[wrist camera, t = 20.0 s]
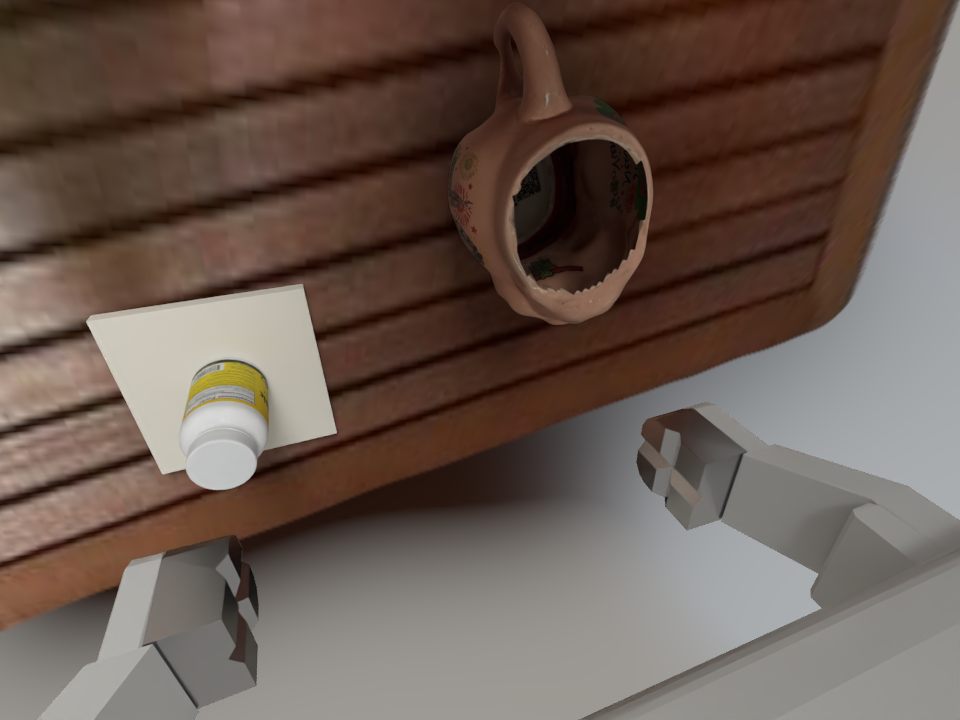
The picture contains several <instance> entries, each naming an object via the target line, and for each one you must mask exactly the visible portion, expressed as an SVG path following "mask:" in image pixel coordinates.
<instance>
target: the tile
mask: <svg viewBox="0 0 960 720" xmlns="http://www.w3.org/2000/svg"><path fill="white" fill-rule="evenodd" d="M86 322H87V324H88V326H89V328H90V330H91V332H92V334H93V336H94V338H95V340H96V342H97V344H98V346H99V348H100V350H101V352H102V354H103V356H104V358H105V360H106V362H107V364H108V366H109V368H110V370H111V372H112V374H113V376H114V378H115V380H116V382H117V384H118V386H119V388H120V390H121V392H122V394H123V396H124V398H125V400H126V402H127V404H128V406H129V408H130V410H131V412H132V414H133V416H134V418H135V420H136V422H137V424H138V426H139V428H140V430H141V432H142V434H143V436H144V438H145V440H146V442H147V444H148V446H149V448H150V450H151V452H152V454H153V456H154V458H155V460H156V462H157V464H158V466H159V468H160V471H161V473H162V474H167V473H171V472H175V471H179V470H184V469H186V459H187V458H186V457H185V455H184V454H183V452H182V450H181V448H180V445H179V433H180V428H181V424H182V420H183V416H184V411H185V407H186V403H187V398H188V394H189V389H190V385H191V382H192V379H193V377H194V375H195V373H196V372H197V370H198V369H199V368H200V367H201V366H203V365H204V364H206V363H207V362H209V361H212V360H214V359H218V358H223V357H235V358H241V359H244V360H247V361H249V362H251V363H253V364H255V365H256V366H258V367H259V368H260V369H261V370H262V372H263V373H264V375H265V377H266V379H267V382H268V405H269V434H268V441H267V445H266V447H265V449H264V450H268V449H272V448H276V447H281V446H285V445H289V444H293V443H298V442H302V441H306V440H310V439H314V438H319V437H323V436H327V435H331V434H336V433H337V430H336V425H335V421H334V416H333V412H332V408H331V403H330V399H329V395H328V390H327V386H326V382H325V377H324V373H323V369H322V364H321V360H320V356H319V351H318V347H317V343H316V338H315V334H314V330H313V325H312V321H311V317H310V312H309V308H308V304H307V299H306V295H305V291H304V286H303V284H297V285H290V286H284V287H277V288H270V289H264V290H257V291H250V292H244V293H237V294H230V295H224V296H217V297H211V298H204V299H197V300H191V301H184V302H177V303H171V304H164V305H157V306H151V307H144V308H137V309H131V310H124V311H117V312H111V313H104V314H97V315H91V316H90V317H89V318H88V320H87V321H86Z"/></svg>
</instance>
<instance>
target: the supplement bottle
mask: <svg viewBox="0 0 960 720" xmlns="http://www.w3.org/2000/svg"><path fill="white" fill-rule="evenodd" d="M268 434H269V405H268V382H267V379H266V377H265V375H264V373H263V372H262V370H261V369H260V368H259V367H258V366H256V365H255V364H253V363H251V362H249V361H247V360H244V359H241V358H235V357H223V358H218V359H214V360H212V361H209V362H207V363H206V364H204V365H203V366H201V367H200V368H199V369H198V370H197V372H196V373H195V375H194V377H193V379H192V382H191V385H190V389H189V394H188V398H187V403H186V407H185V411H184V416H183V420H182V424H181V428H180V433H179V445H180V448H181V450H182V452H183V454H184V455H185V457H186V458H187V459H186V471H187V474H188V476H189V477H190V479H191V480H192V481H193V482H194V483H196V484H197V485H199V486H201V487H204V488H207V489H212V490H225V489H231V488H234V487H237V486H239V485H241V484H243V483H245V482H246V481H247V480H248V479H250V477H251V476H252V475H253V474H254V472H255V470H256V467H257V458H258V457H259V456H260V455H261V453H262V452H263V451H264V449H265V447H266V445H267V441H268Z"/></svg>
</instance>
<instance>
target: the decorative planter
mask: <svg viewBox="0 0 960 720" xmlns="http://www.w3.org/2000/svg"><path fill="white" fill-rule="evenodd" d="M511 36H512V37H513V39H514V41H515V43H516V45H517V48H518V51H519V54H520V58H521V62H522V67H523V77H524V80H523V78H522V77H521V75H520V73H519V71H518V69H517V67H516V63H515V59H514V55H513V51H512V48H511V43H510V42H511ZM493 39H494V44H495V46H496V48H497V49H498V51H499V55H500V62H501V63H500V71H499V84H498V91H497V97H496V105H495V111H494V113H493V115H492V116H491V117H489V118H488V119H487V120H486V121H485V122H484V123H483V124H482V125H480V126H479V127H478V128H476V129H475V130H473V131H471V132H470V133H468V134H467V135H466V136H465V137H464V138H463V139H462V140H461V142H460V143H459V144H458V146H457V148H456V149H455V152H454V154H453V157H452V160H451V165H450V171H449V186H448V200H449V206H450V210H451V213H452V216H453V219H454V221H455V224H456V227H457V229H458V231H459V234H460V237H461V239H462V241H463V242H464V244H465V246H466V247H467V248H468V250H469V251H470V252H471V254H472V255H473V256H474V257H475V258H476V259H477V260H478V261H479V262H480V263H481V264H482V265H483V266H484V267H485V268H486V269H487V270H488V271H489V272H490V274H491V276H492V279H493V283H494V286H495V289H496V291H497V293H498V294H499V295H500V296H501V297H502V298H504V299H505V300H506V301H507V302H508V303H509V305H510V307H511V308H512V309H513V310H514V311H515V312H517V313H518V314H521V315H525V316H532V317H537V318H540V319H543V320H545V321H546V322H548V323H550V324H553V325H563V324H568V323H574V324H576V323H580V322H583V321H585V320H587V319H589V318H592V317H594V316H597V315H600V314H602V313H604V312H606V311H608V310H609V309H610V308H611V307H612V306H613V304H614V303H615V302H616V300H617V299H618V297H619V296H620V294H621V292H622V290H623V288H624V286H625V284H626V283H627V281H628V280H629V278H630V277H631V276H632V274H633V273H634V271H635V270H636V268H637V267H638V265H639V263H640V262H641V259H642V257H643V255H644V251H645V246H646V240H647V233H648V226H649V220H650V215H651V209H652V203H653V182H652V174H651V167H650V163H649V159H648V157H647V154H646V152H645V150H644V148H643V146H642V145H641V143H640V142H639V140H638V139H637V138H636V136H635V135H634V134H633V133H632V132H631V131H630V130H629V128H628V126H627V125H626V123H625V122H624V120H623V119H622V118H621V117H620V116H619V114H618V113H617V112H616V111H614V110H613V109H612V108H611V107H610V106H609V105H607V104H606V103H605V102H603V101H601V100H600V99H598V98H595V97H592V96H589V95H578V96H570V97H567V94H566V92H565V88H564V85H563V81H562V76H561V70H560V66H559V63H558V60H557V57H556V53H555V48H554V45H553V43H552V41H551V38H550V36H549V34H548V32H547V30H546V28H545V26H544V24H543V22H542V20H541V19H540V17H539V16H538V15H537V14H536V13H535V12H534V11H533V10H532V9H530V8H529V7H528V6H526V5H525V4H523V3H522V2H513V3H511V4H509V5H508V6H507V7H506V8H505V9H504V10H503V11H502V12H501V14H500V16H499V19H498V21H497V23H496V25H495V28H494V31H493Z"/></svg>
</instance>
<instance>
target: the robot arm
mask: <svg viewBox="0 0 960 720" xmlns="http://www.w3.org/2000/svg"><path fill="white" fill-rule="evenodd" d="M641 435H642V436H643V438H644V439H645V442H644V443H643V444H642V446H641V447H640V448H639V450H638V454H637V466H638V470H639V474H640V476H641V478H642V480H643V481H644V483H645V484H646V485H647V487H648V488H649V489H650V490H651V491H652V492H654V493H656V494H659V495H661V496H663V497H665V507H666V508H667V509H668V510H669V511H670V512H671V513H672V514H673V516H674V517H675V518H676V519H677V520H678V521H679V522H680V523H681V524H682V525H683V526H684V528H685V529H686V530H689V529H693V528H695V527H699V526H702V525H705V524H708V523H711V522H714V521H717V520H720V519H722V520H721V522H723V523H725V524H727V525H729V526H731V527H732V528H734V529H736V530H738V531H740V532H742V533H744V534H745V535H748V536H749V537H751V538H753V539H755V540H757V541H759V542H760V543H762V544H764V545H766V546H768V547H770V548H772V549H774V550H775V551H777V552H779V553H781V554H783V555H785V556H787V557H788V558H790V559H793V560H794V561H796V562H798V563H800V564H802V565H803V566H805V567H807V568H809V569H811V570H813V571H815V572H816V573H818V574H819V575H818V577H817V578H816V580H815V582H814V584H813V586H812V588H811V598H812V599H813V600H815V602H816V603H817V604H818V605H819V606H820V607H821V608H822V609H820V610H818V611H816V612H813V613H811V614H809V615H807V616H805V617H802V618H800V619H798V620H796V621H794V622H792V623H789V624H787V625H785V626H783V627H780V628H778V629H776V630H774V631H772V632H770V633H767V634H765V635H763V636H761V637H759V638H756V639H754V640H752V641H750V642H748V643H746V644H743V645H741V646H739V647H737V648H735V649H732V650H730V651H728V652H726V653H724V654H721V655H719V656H717V657H715V658H713V659H711V660H708V661H706V662H704V663H702V664H700V665H697V666H695V667H693V668H691V669H689V670H687V671H684V672H682V673H680V674H678V675H676V676H673V677H671V678H669V679H667V680H665V681H663V682H660V683H658V684H656V685H654V686H652V687H649V688H647V689H645V690H643V691H641V692H638V693H636V694H634V695H632V696H630V697H628V698H625V699H623V700H621V701H619V702H617V703H614V704H612V705H610V706H608V707H606V708H603V709H601V710H599V711H597V712H595V713H593V714H591V715H588V716H586V717H584V718H582V719H580V720H960V520H959V519H957V518H955V517H954V516H952V515H951V514H949V513H948V512H946V511H945V510H943V509H942V508H940V507H939V506H937V505H936V504H934V503H933V502H931V501H930V500H928V499H927V498H925V497H924V496H922V495H921V494H919V493H917V492H916V491H914V490H913V489H911V488H910V487H908V486H906V485H903V484H900V483H896V482H893V481H890V480H887V479H884V478H880V477H878V476H874V475H871V474H868V473H865V472H862V471H858V470H855V469H852V468H849V467H846V466H843V465H839V464H836V463H833V462H830V461H827V460H824V459H820V458H817V457H814V456H811V455H808V454H805V453H802V452H798V451H795V450H792V449H789V448H786V447H783V446H779V445H776V444H773V445H770V446H769V445H767V444H766V443H765V442H763V441H762V440H761V439H759V438H758V437H756V436H755V435H754V434H753V433H752V432H750V431H749V430H748V429H746V428H745V427H744V426H742V425H741V424H740V423H738V422H737V421H736V420H734V419H733V418H732V417H730V416H729V415H727V414H726V413H725V412H724V411H722V410H721V409H720V408H718V407H717V406H716V405H714V404H711V403H708V402H705V403H701V404H698V405H694V406H691V407H687V408H686V409H681V410H677V411H674V412H670V413H667V414H663V415H660V416H656V417H653V418H649V419H647V420H646V422H645V423H644V424H643V427H642V432H641ZM258 606H259V605H258V595H257V586H256V583H255V579H254V575H253V572H252V570H251V567H250V565H248V564H246V563H243V562H242V546H241V544H240V542H239V540H238V538H237V536H236V535H228V536H224V537H220V538H216V539H212V540H208V541H204V542H200V543H196V544H192V545H189V546H185V547H181V548H177V549H173V550H169V551H167V552H164V553H160V554H156V555H152V556H148V557H144V558H140V559H136V560H132V561H131V562H130V563H129V565H128V566H127V567H126V569H125V570H124V573H123V576H122V580H121V583H120V586H119V590H118V593H117V596H116V600H115V603H114V606H113V610H112V613H111V616H110V620H109V623H108V626H107V629H106V633H105V636H104V639H103V643H102V646H101V649H100V653H99V656H98V659H97V662H94V663H91V664H88V665H85V666H84V667H83V668H82V669H81V671H80V672H79V673H78V674H77V675H76V676H75V677H74V678H73V680H72V681H71V682H70V683H69V684H68V685H67V686H66V687H65V689H64V690H63V691H62V692H61V693H60V694H59V695H58V696H57V698H56V699H55V700H54V701H53V702H52V703H51V704H50V705H49V707H48V708H47V709H46V710H45V711H44V712H43V713H42V714H41V716H40V717H39V718H38V719H37V720H195V718H196V716H197V714H198V710H197V709H198V708H201V707H203V706H206V705H208V704H211V703H214V702H216V701H219V700H221V699H224V698H226V697H229V696H232V695H234V694H237V693H239V692H242V691H244V690H247V689H249V688H252V687H255V686H256V681H257V680H256V679H257V650H258V645H257V643H256V641H255V639H254V636H253V634H252V632H251V630H252V629H253V628H254V626H255V624H256V623H257V621H258V610H259V607H258Z"/></svg>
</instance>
